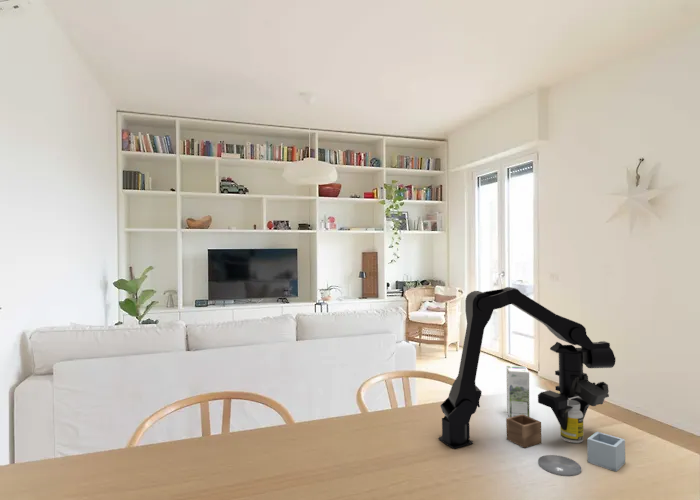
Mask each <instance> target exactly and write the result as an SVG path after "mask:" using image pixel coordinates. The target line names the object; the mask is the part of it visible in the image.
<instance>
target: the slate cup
mask: <svg viewBox="0 0 700 500" xmlns="http://www.w3.org/2000/svg"><path fill="white" fill-rule="evenodd" d="M586 440H587V441H586V443H587V444H586V445H587V446H586V447H587V463H588V464H592V465H595V466H598V467H600V468H601V467H602V468H604V469H607V470H610V471H613V472H616V473H617V472H618V471H619V470H620V469H621V468H622V467H623V466H624V465H625V463H626V439H624V438H621V437H618V436H614V435H611V434H609V433H608V434H607V433H604V432H601V431H596V432H594V433H593V434H592V435H591V436H589V437H588V438H587V439H586Z"/></svg>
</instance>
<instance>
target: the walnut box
mask: <svg viewBox="0 0 700 500" xmlns="http://www.w3.org/2000/svg"><path fill="white" fill-rule="evenodd" d="M505 421H506V423H505V424H506V425H505V426H506V440H508V441H509V442H512V443H514V444H516V445H517V446H519V447H521V448H524V449H527V448H530V447H534V446H537V445H540V444H542V443H543V442H542V422H541V421H540V420H537V419H535V418H532V417H528V416H526V415H523V414H522V415H518V416H514V417H507V418H506V419H505Z"/></svg>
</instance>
